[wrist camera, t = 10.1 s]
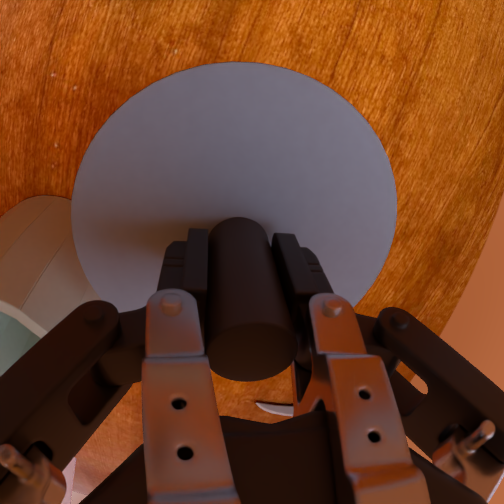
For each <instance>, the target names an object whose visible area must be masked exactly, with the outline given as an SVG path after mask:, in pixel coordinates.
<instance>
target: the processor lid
mask: <svg viewBox="0 0 504 504" xmlns="http://www.w3.org/2000/svg"><path fill="white" fill-rule="evenodd" d="M396 218H397V195H396V188H395V181H394V176H393V173H392V169H391V166H390V162H389V159H388V157H387V155H386V152H385V150H384V148H383V146H382V144H381V142H380V140H379V138H378V137H377V135H376V134H375V132H374V131H373V129H372V128H371V126H370V125H369V123H368V122H367V121H366V120H365V118H364V117H363V116H362V115H361V114H360V113H359V112H358V111H357V110H356V109H355V108H354V107H353V106H352V104H350V103H349V102H348V101H347V100H345V99H344V98H343V97H342V96H340V95H339V94H338V93H336V92H335V91H334V90H332V89H331V88H329V87H327V86H326V85H324V84H322V83H320V82H318V81H317V80H315V79H313V78H311V77H309V76H306V75H304V74H301V73H298V72H295V71H293V70H290V69H287V68H283V67H279V66H274V65H269V64H264V63H256V62H222V63H213V64H205V65H200V66H197V67H193V68H189V69H186V70H182V71H179V72H176V73H174V74H171V75H169V76H167V77H165V78H162V79H160V80H158V81H156V82H154V83H152V84H150V85H149V86H147V87H146V88H144V89H142V90H141V91H139V92H138V93H136V94H135V95H133V96H132V97H131V98H129V99H128V100H127V101H126V102H125V103H124V104H123V105H121V106H120V107H119V108H118V109H117V110H116V111H115V112H114V113H113V114H112V115H111V116H110V117H109V118H108V119H107V121H106V122H105V123H104V124H103V126H102V127H101V128H100V129H99V131H98V132H97V133H96V135H95V136H94V138H93V140H92V141H91V143H90V145H89V147H88V149H87V150H86V152H85V154H84V156H83V159H82V161H81V164H80V167H79V169H78V172H77V175H76V179H75V183H74V188H73V193H72V202H71V226H72V236H73V241H74V245H75V249H76V253H77V256H78V259H79V261H80V264H81V266H82V269H83V271H84V273H85V275H86V277H87V279H88V280H89V282H90V284H91V286H92V287H93V289H94V290H95V292H96V293H97V294H98V296H99V297H100V298H101V300H103V301H107V302H110V303H111V304H113V305H114V306H115V307H116V308H117V310H118V312H119V313H121V312H127V311H132V310H137V309H140V308H142V307H144V306H146V305H147V301H148V299H149V297H150V296H151V295H152V294H154V293H155V292H156V291H157V286H158V281H159V277H160V272H161V268H162V263H163V259H164V255H165V250H166V248H167V247H168V246H169V245H170V244H171V243H172V242H173V241H187V236H188V230H189V228H201V229H209V232H208V269H207V307H206V316H205V321H204V347H203V348H204V354H205V355H207V357H208V360H209V365H210V369H211V370H212V371H213V372H215V373H216V374H218V375H220V376H221V377H224V378H226V379H230V380H234V381H245V382H248V381H258V380H263V379H267V378H270V377H273V376H275V375H277V374H279V373H281V372H282V371H284V370H285V369H286V368H288V367H289V366H290V365H291V364H292V362H293V361H294V359H295V358H296V355H297V352H298V341H297V338H296V334H295V330H294V327H293V323H292V320H291V316H290V313H289V309H288V305H287V302H286V298H285V295H284V291H283V288H282V284H281V281H280V277H279V274H278V270H277V267H276V263H275V260H274V257H273V253H272V250H271V243H272V237H273V234H274V233H291V234H295V236H296V238H297V241H298V243H299V245H300V247H307V248H308V249H310V250H311V251H312V252H313V253H314V254H315V255H316V256H317V258H318V260H319V262H320V265H321V266H322V268H323V270H324V271H323V272H324V273H325V275H326V277H327V279H328V281H329V283H330V285H331V287H332V289H333V292H334V294H336V295H339V296H341V297H343V298H344V299H346V300H347V301H348V302H349V303H350V304H351V305H352V307H354V306H355V305H356V304H357V303H358V302H359V301H360V299H361V298H362V297H363V296H364V295H365V293H366V292H367V291H368V289H369V288H370V287H371V285H372V284H373V283H374V281H375V279H376V278H377V276H378V274H379V272H380V271H381V269H382V267H383V265H384V262H385V260H386V258H387V256H388V253H389V250H390V247H391V243H392V240H393V236H394V231H395V225H396Z"/></svg>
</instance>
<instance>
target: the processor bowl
mask: <svg viewBox="0 0 504 504" xmlns="http://www.w3.org/2000/svg"><path fill="white" fill-rule="evenodd" d="M71 202H72V200H69V199H66V198H62V197H58V196H48V195H43V196H35V197H31V198H28V199H26V200H23V201H21V202H20V203H18V204H17V205H16V206H14V207H13V208H11V209H10V210H8V211H7V212H6V213H5V214H4V215H3V216H2V217H0V376H1V375H2V374H4V373H5V372H6V371H7V370H8V369H9V368H10V367H11V366H12V365H13V364H14V363H15V362H16V361H17V360H18V359H19V358H20V357H22V356H23V355H24V354H25V353H26V352H27V351H28V350H29V349H30V348H31V347H32V346H34V345H35V344H36V343H37V342H38V341H39V340H40V339H41V338H42V337H44V336H45V335H46V334H47V333H48V332H49V331H50V330H51V329H53V328H54V327H55V326H56V325H57V324H58V323H59V322H61V321H62V320H63V319H64V318H65V317H66V316H68V315H69V314H70V313H71V312H72V311H73V310H75V309H76V308H77V307H78V306H80V305H81V304H83V303H85V302H88V301H93V300H101V298H100V297H99V296H98V294H97V293H96V292H95V290H94V289H93V287H92V286H91V284H90V282H89V280H88V279H87V277H86V275H85V273H84V271H83V269H82V266H81V264H80V261H79V259H78V256H77V253H76V249H75V245H74V241H73V236H72V226H71Z"/></svg>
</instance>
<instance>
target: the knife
mask: <svg viewBox="0 0 504 504" xmlns="http://www.w3.org/2000/svg"><path fill="white" fill-rule="evenodd" d="M256 404H257V405H258V406H259V407H260V408H261V409H263V410H265V411H267V412H270V413H274V414H279V415H286V416H293V412H294V406H281V405H272V404H264V403H257V402H256Z"/></svg>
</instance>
